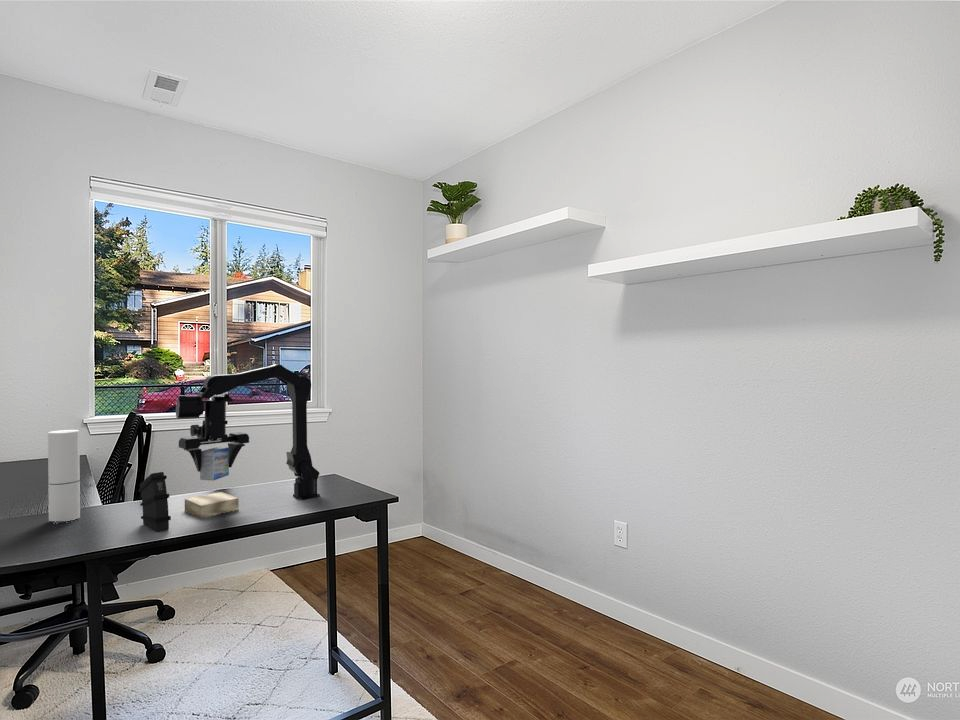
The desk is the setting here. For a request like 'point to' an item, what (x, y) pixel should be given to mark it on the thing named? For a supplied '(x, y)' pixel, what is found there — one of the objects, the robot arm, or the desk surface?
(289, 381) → the robot arm
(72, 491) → the cylindrical container
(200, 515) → the maple block
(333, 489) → the desk surface
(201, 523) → the desk surface
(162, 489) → the magazine
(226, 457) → the medicine box
